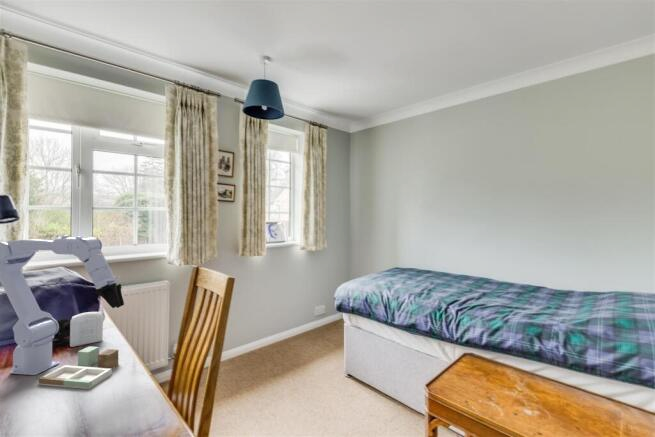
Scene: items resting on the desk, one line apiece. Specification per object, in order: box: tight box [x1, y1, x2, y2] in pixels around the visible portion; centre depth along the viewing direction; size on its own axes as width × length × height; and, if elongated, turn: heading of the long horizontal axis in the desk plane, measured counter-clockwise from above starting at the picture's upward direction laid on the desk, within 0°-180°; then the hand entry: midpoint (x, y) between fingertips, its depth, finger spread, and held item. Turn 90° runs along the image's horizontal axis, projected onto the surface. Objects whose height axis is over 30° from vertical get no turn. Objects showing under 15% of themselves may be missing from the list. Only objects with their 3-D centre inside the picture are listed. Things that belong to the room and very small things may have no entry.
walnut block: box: [97, 348, 119, 369], centre depth 100 cm, size 4×4×5 cm
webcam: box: [52, 318, 71, 349], centre depth 117 cm, size 8×8×10 cm
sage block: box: [77, 345, 100, 367], centre depth 102 cm, size 4×4×5 cm
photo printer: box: [69, 311, 104, 348], centre depth 118 cm, size 10×4×12 cm, turn 129°
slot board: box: [38, 364, 113, 390], centre depth 92 cm, size 17×8×2 cm, turn 83°
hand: (118, 306), depth 97 cm, fingers open, 7 cm apart
